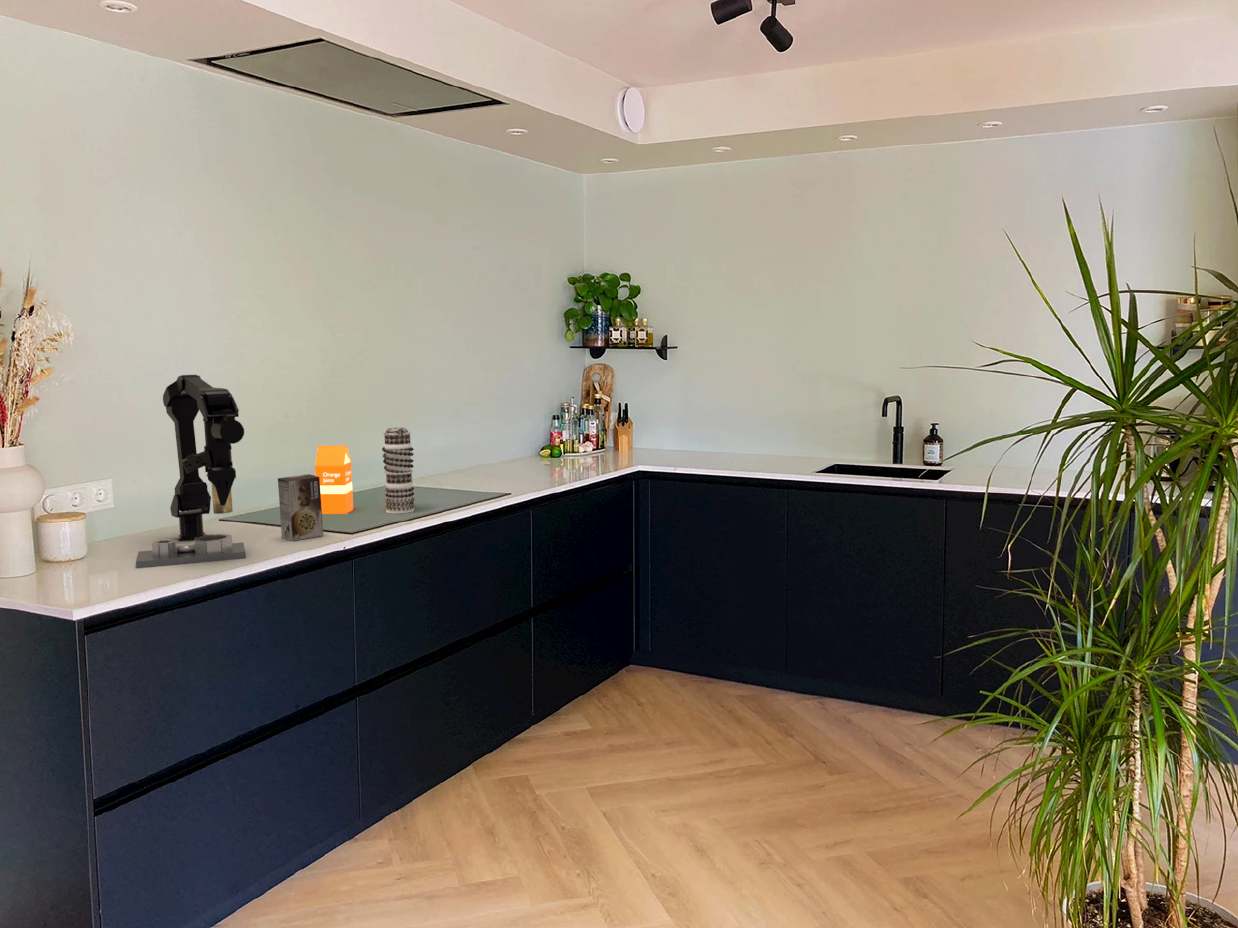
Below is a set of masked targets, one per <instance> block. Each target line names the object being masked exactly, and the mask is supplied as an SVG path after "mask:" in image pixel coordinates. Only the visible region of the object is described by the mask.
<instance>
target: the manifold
mask: <svg viewBox="0 0 1238 928" xmlns="http://www.w3.org/2000/svg"><path fill="white" fill-rule="evenodd" d="M246 555H247V553H246V548H245V544H244V542H233V537H232V534H226V533H225V534H224V533H216V534H214V533H213V534H205V535H204V536H200V537H196V538H195V539H194V544H189V545H187V544H186V545H178V546H177V541H176V539H169V538H167V539H160V540H158V539H157V540H154V541H152V542H151V550H139V551H138V552H137V555H136V560H135V565H136V566H135V567H136V569H140V568H152V567H162V566H173V565H174V566H176V565H184V564H185V565H186V564H197V563H206V562H217V561H226V560H239V559H247V556H246Z"/></svg>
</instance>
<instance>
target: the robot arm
mask: <svg viewBox="0 0 1238 928" xmlns="http://www.w3.org/2000/svg"><path fill="white" fill-rule="evenodd" d="M233 396H234V395H232V393H231V391H229V389H228V388H223V387H214V386H211V384H209V383H208V382H206V381H205V380H203V379H202V378H201V376H200V375H198V374H181V375H178V376H177V378H176V380H175V381H173V382H171V384H169V385H167V386H166V387H165V390H164V392H163V394H162V403H163V406H164V407H165V409H166V410H165V411H166V414H167V415H168V417H169V418H170V419H171V421H172V422H173V423H174V431H175V440H176V442H175V443H176V449H177V450H176V451H177V460H178V470H179V479H178V481H177V483H176V485H175V487H174V495H173V497H172V500H171V504H170V508H169V509H170V514H171V516H172V517H174V518H177V519H178V521H179V534H178V541H188V540H195V538H196V537H200V536H204V535H206V532H204V522H203V515H209V514H210V511H211V501H212V499H211V498H212V496H211V494H210V491H208V484H207V482H205V481H203V479H202V478H201V477H200V474H199V473H200V471H199V470H200V469H201V468H204V471H205V472H204V473H207V474H205V475H206V477H207V479H208V482H210V483H211V484H212V483H213V484H214V485H215V487H216V491H217V495H218V498H219V502H220V505H221V506H223V505H225V504H226V501H227V499H228V496H229V493H230V490H231V491H232V488H233V484H234V481H235V479H237V473H236V472H237V471H236V469H235V468H234V467H233V465H234V464H233V459H232V457H233V456H232V445H234V444H237V443H240V441H241V440H242V439H243V438H244V435H245V428H244V425H242V423H241V422H240V421H238V420H237V419H236V418H238V417H239V411H240V409H239V407H238V405H237V402H236V400H235V399H234V397H233ZM199 412H200V414H201V416H202V422H203V424H204V428H203V429H204V443H205V445H204V446H203V449H204V451H201V452H198V451H197V444H196V443H197V442H196V433H195V432H196V431H195V424H194V422H195V420H196V417H197V415H198V413H199ZM197 452H198V453H197Z"/></svg>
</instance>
